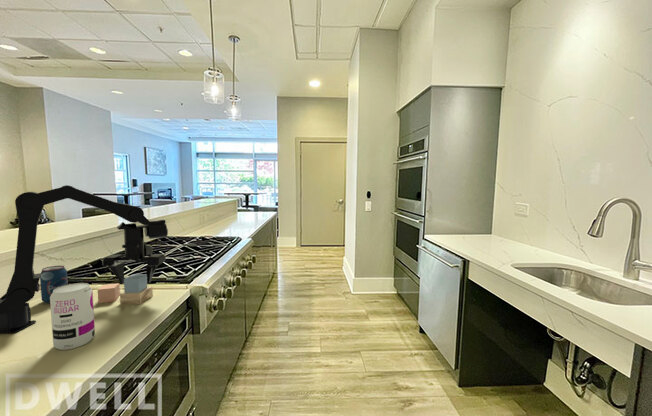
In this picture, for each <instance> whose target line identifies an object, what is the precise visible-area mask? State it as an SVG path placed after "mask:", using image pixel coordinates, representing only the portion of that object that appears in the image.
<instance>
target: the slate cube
mask: <svg viewBox="0 0 652 416" xmlns="http://www.w3.org/2000/svg"><path fill="white" fill-rule="evenodd" d="M147 286H148V281H147V273H145V274H143V273H142V274H141V273H140V274H135V273H134V274H131V275H129V276H127V277H124V283H123V289H124V290H123V292H124V293H139V292H141V291H143V290H144V289H146V288H147Z"/></svg>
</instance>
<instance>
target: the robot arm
mask: <svg viewBox="0 0 652 416" xmlns="http://www.w3.org/2000/svg"><path fill="white" fill-rule="evenodd" d="M66 199H69V200H73V201H75V202H78V203H81V204H85V205H87V206H91V207H94V208H96V209H100V210H103V211H106V212H110V213H111V214H114V215H116V216H117V217H120V218H122V219H123V220H125V221H127V222H129V223H125V222H123V221H122V222H121V223H120V224H119V225H118V226H116V229H117V230H118V231H119V230H120V231H121V230H123V238H124V243H123V244H122V246H121V247H122V249H124V254H122V253H121V254H110V255H108V256H106V257H104V258H103V259H102V261H101V262H102V266H103V267H106V268H107V269H109V270H110V271H111V273H113V275H115V277H116V279H117V280H118V281H119V282H120V283H119V284H123V285H124V279H125V273H124V272H125V270H124V269H125V264H126V263H146V264H147V265H146V266H145V272H146V273H145V274H147V284H150V283H151V282H152V280H153V277H154V274H155V271H156V269H157V267H158V266H160V265H162V264H163V263H165V262H166V260H167V259H166V258H167V257H166V255H165V254H164V253H153V249H154V246H150V245H147V241H144V239H145V238H144V236H145V237H148V238H147V239H148V240H151V239H163V238H168V235H169V234H168V232H169V229H168V227H167V222H166V220H165V219H158V220H149V219H148V218H146V216H145V212H144V210H143V209H142V208H141V207H140V206H136V205H133V204H128V203H122V202H117V201H113V200H110V199H107V198H105V197H101V196H99V195H95V194H92V193H90V192H87V191H85V190H81V189H79V188H76V187H74V186H72V185H67V184H66V185H63V186H61V187H58V188H57V187H56V188H53V189H49V190H46V191H41V192H36V191H26V192H22V193H21V194H18V195H17V196H16V197H15V199H14V203H15V205H14V206H15V209H16V215H17V220H18V231H17V232H18V233H17V243H16V251H15V261H14V262H15V263H14V269H13V270H14V271H13V274H12V276H11V279H10V282H9V284H8V286H7V289H6V292H5V293H4V294H3V295H2V296H1V297H0V334H15V333H19V332H20V331H22V330H24V329H25V328H28V327H29V326H32V325H33V324H36V322H37V320H33V319H32V315H31V307H30V303H29V301H31V300H32V299H34V297H35V294H36V293H38V292H39V291H40V287H41V284H40V275H41V272H40V273H35V271H34V261H35V254H36V253H35V251H36V243H37V242H36V241H37V232H38V225H39V224H38V223H39V220H40V217H41V216H42V212H43V210H44V206H45V205H49V204H54V203H56V202H61V201H63V200H66ZM136 223H140V224H141V225H137V224H136Z"/></svg>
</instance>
